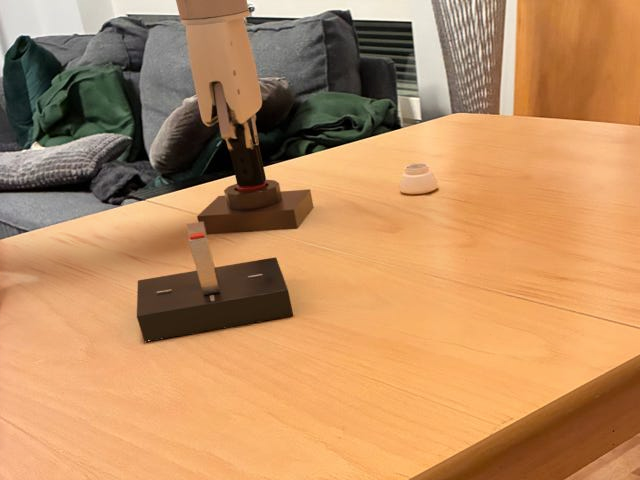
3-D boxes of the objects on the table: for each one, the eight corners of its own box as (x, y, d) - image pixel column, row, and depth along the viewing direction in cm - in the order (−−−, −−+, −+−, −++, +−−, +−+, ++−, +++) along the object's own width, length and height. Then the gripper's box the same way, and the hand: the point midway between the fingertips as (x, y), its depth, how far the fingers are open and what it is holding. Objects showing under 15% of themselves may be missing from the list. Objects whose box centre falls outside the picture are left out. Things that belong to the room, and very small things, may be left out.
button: (236, 204, 117) (232, 189, 116) (244, 196, 120) (240, 181, 119) (264, 202, 117) (261, 187, 115) (272, 194, 119) (269, 179, 118)
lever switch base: (144, 342, 90) (135, 314, 88) (145, 305, 98) (137, 278, 97) (293, 316, 92) (287, 288, 90) (281, 281, 101) (275, 255, 99)
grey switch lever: (200, 276, 96) (186, 221, 93) (216, 273, 96) (202, 218, 93) (203, 295, 91) (188, 237, 88) (220, 292, 92) (205, 235, 88)
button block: (201, 235, 117) (192, 200, 114) (222, 214, 124) (214, 180, 121) (297, 228, 116) (290, 193, 113) (313, 207, 123) (307, 173, 120)
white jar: (445, 186, 125) (413, 185, 127) (443, 161, 123) (410, 160, 125) (425, 197, 122) (392, 195, 124) (422, 172, 120) (389, 170, 122)
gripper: (200, -1, 112) (239, 170, 123) (156, 16, 100) (204, 203, 112) (262, -7, 111) (296, 166, 122) (226, 9, 99) (266, 198, 111)
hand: (252, 183), depth 117 cm, fingers closed
